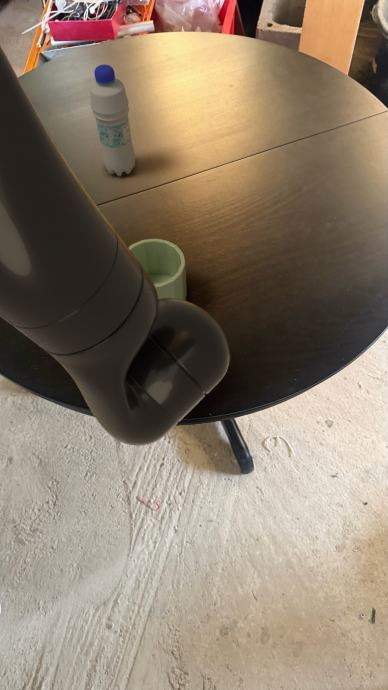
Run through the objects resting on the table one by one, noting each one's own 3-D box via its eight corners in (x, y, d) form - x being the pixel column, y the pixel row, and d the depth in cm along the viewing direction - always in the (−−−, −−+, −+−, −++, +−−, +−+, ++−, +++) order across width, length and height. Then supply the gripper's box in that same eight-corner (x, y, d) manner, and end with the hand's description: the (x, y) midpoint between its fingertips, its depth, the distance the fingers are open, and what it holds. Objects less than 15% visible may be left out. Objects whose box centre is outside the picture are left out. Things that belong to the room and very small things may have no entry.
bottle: (136, 179, 94) (121, 76, 77) (102, 179, 94) (80, 77, 77) (138, 158, 98) (125, 55, 81) (106, 158, 98) (86, 56, 81)
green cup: (128, 323, 75) (121, 290, 68) (124, 277, 80) (117, 242, 73) (190, 316, 75) (188, 283, 69) (182, 270, 81) (180, 235, 74)
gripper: (181, 282, 49) (151, 278, 65) (44, 326, 46) (49, 311, 62) (201, 349, 51) (167, 329, 67) (71, 396, 48) (68, 364, 64)
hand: (110, 321), depth 65 cm, fingers closed on pill bottle, 5 cm apart
